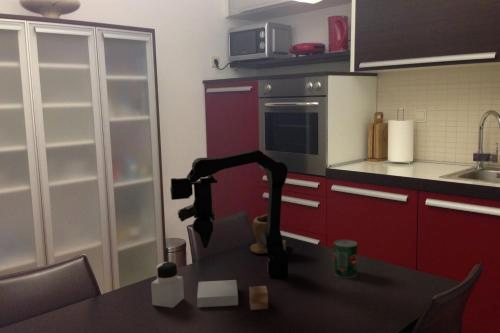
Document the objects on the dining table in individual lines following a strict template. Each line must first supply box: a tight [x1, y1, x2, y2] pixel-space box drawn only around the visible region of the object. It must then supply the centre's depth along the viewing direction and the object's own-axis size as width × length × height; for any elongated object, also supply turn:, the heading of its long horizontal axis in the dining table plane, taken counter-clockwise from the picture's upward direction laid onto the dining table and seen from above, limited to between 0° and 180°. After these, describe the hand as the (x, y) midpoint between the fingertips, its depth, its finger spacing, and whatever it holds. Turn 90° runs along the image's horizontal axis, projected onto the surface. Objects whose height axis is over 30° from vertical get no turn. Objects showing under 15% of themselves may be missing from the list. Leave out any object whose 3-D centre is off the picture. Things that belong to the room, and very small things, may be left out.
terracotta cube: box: [248, 285, 269, 311], centre depth 134 cm, size 5×5×5 cm
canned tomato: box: [333, 239, 358, 279], centre depth 157 cm, size 8×8×11 cm
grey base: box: [196, 279, 239, 308], centre depth 140 cm, size 12×12×3 cm
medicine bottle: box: [150, 261, 185, 309], centre depth 138 cm, size 7×7×12 cm
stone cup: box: [250, 213, 287, 254], centre depth 182 cm, size 15×12×15 cm
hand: (205, 243), depth 150 cm, fingers open, 9 cm apart
